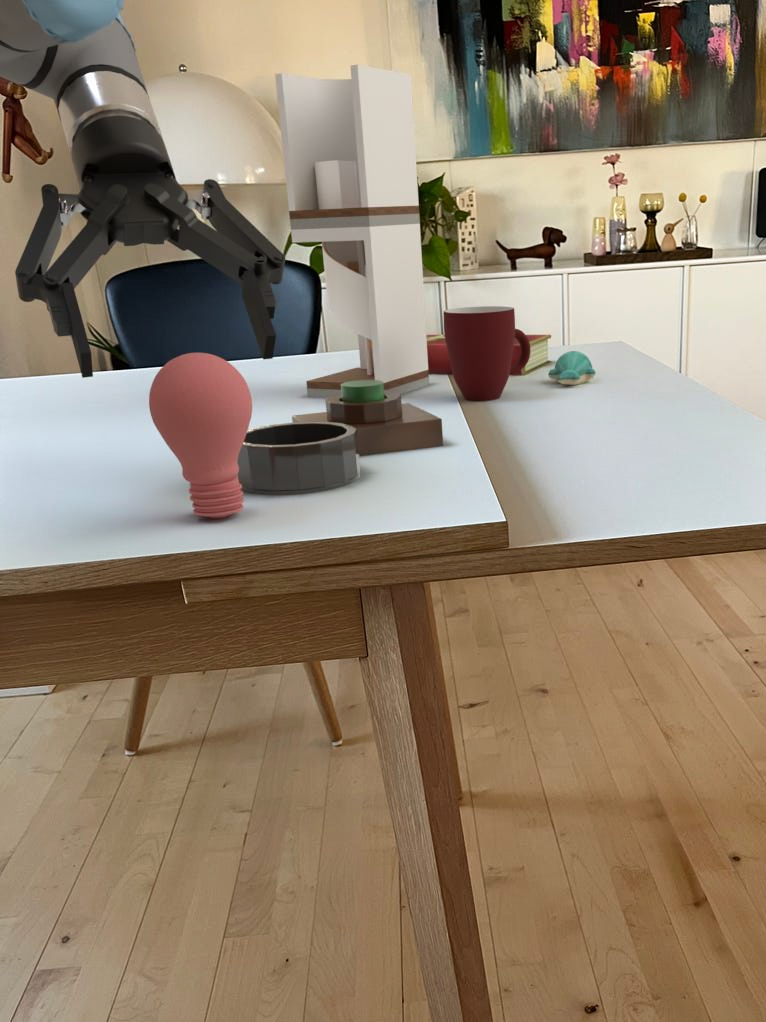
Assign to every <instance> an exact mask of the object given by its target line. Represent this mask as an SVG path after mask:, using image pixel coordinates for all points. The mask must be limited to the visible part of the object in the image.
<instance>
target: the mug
mask: <svg viewBox="0 0 766 1022" xmlns="http://www.w3.org/2000/svg"><path fill="white" fill-rule="evenodd" d="M515 313H516V312H515V308H514V307H511V306H501V305H500V306H499V305H498V306H497V305H495V306H494V305H493V306H492V305H491V306H489V305H488V306H485V305H484V306H468V307H456V308H450V309H449V308H448V309H445V310H443V335H445V341H446V345H447V350H448V355H449V359H450V364H451V369H452V373H453V374H452V377H453V379H454V381H455V384H456V386H457V387H458V389H459V391H460V393H461V396H463V398H464V400H466V401H470V402H488V401H496V400H499V399H500V398H501V396H502V394H503V392H504V390H505V387H506V385H507V383H508V380H509V377H510V376H511V375H510V374H513V373H516V372H518V371H520V370H521V369H523V368H524V367H525V366H526V364H527V363H528V361H529V358H530V343H529V340H528V338H527V336H526V335H527V334H525V333H524V332H523V330H520V329H518V328H516V318H515V317H516V314H515ZM514 338H516V339H517V340H518V341H519V344H520V347H521V354H520V358H519V361H518V362H517V364H516V365H514V366H513V367H511V360H512V353H513V346H514Z"/></svg>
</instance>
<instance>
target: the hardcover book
mask: <svg viewBox="0 0 766 1022" xmlns="http://www.w3.org/2000/svg"><path fill="white" fill-rule="evenodd" d="M525 335H526V336H527V338H528V340H529V343H530V358H529V361H528V363H527V364H526V366H525V367H524V368H523V369H521V370H520V371H518V372H516V373H513V374H510V375H509V376H527V375H529V374H531V373H533V372H535V371H537V370H539V369H541V368H544V367H546V366H547V365H550V364H552V362H553V361H552V360H549V342H548V341H549V339H552V334H525ZM426 339H427V356H428V373H429V375H453V373H452V369H451V364H450V359H449V355H448V350H447V345H446V341H445V335H444V334H426ZM520 354H521V347H520V344H519V341H518V340H517V339H516V338H514V346H513V353H512V360H511V367H513V366H514V365H516V364H517V362H518V361H519V358H520Z"/></svg>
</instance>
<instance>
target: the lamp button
mask: <svg viewBox="0 0 766 1022" xmlns="http://www.w3.org/2000/svg"><path fill="white" fill-rule="evenodd" d="M341 393H342V401H343V402H369V401H377V400H382V399H385V396H384V383H383V381H379V380H358V381H350V382H345V383H342V384H341Z"/></svg>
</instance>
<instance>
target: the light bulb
mask: <svg viewBox="0 0 766 1022" xmlns="http://www.w3.org/2000/svg"><path fill="white" fill-rule="evenodd" d="M148 408H149V413H150V417H151V420H152V422H153V424H154V426H155V428H156V430H157V431H158V433H159V435H160V436H161V437H162V440H163V441H164V442H165V444H166V445H167V447H168V448H169V450H170V452H172V453H173V455H174V456H175V458H176V459H177V461H178V462H179V463H180V465H181V473H182V474H181V475H182V478H183V479H184V480H186V481H187V482H188V483H189V486H190V488H188V493H189V494H190V496H189V500H190V501H191V502H192V504H191V506H192V508H194V509H193V510H192V512H193V513H192V514H193V515H196V516H201V517H207V518H211V519H214V520H219V519H224V518H227V517H229V516H230V515H233V514H235V513H238V512H241V511H242V510H244V505H243V503H244V502H245V499H244V497H242V496H243V495H244V491H243V490H241V488H242V485H241V484H240V483H239V479H238V478H237V477H236V475H237V474H238V472H239V466H238V464H237V460H238V455H239V452H240V450H241V447H242V444H243V442H244V439H245V437H246V433H247V430H249V427H250V423H251V420H252V414H253V398H252V394H251V390H250V387H249V385H248V383H247V382H246V379H245V378H244V376H243V375H242V374H241V373H240V371H239V370H238V369H237V367H235V366H234V365H233V364H231V363H230V362H229V361H227V360H226V359H224V358H222V357H220V356H217V355H215V354H211V353H207V352H188V353H185V354H181V355H178V356H176V357H175V358H172V359H170V360H169V361H167V362H165V364H164V365H163V366H162V367H161V368H160V369H159V371H158V372H157V373H156V375H155V376H154V378H153V380H152V383H151V385H150V388H149V394H148Z"/></svg>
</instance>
